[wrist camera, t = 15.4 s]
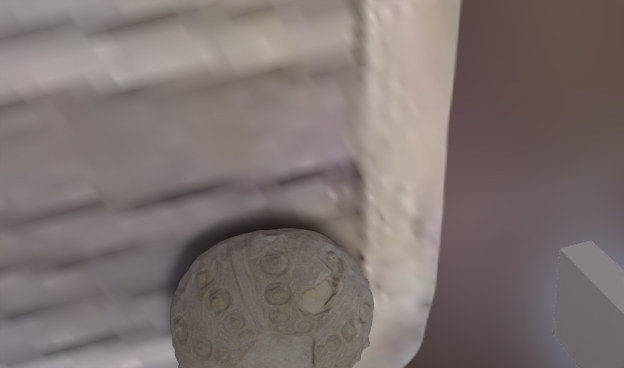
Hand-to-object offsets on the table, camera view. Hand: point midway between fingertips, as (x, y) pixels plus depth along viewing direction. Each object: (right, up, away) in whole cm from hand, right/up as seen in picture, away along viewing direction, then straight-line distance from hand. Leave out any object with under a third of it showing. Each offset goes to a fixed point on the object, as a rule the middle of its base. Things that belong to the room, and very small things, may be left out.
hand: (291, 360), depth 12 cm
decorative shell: (-4, -5, +39) cm, 40 cm away
